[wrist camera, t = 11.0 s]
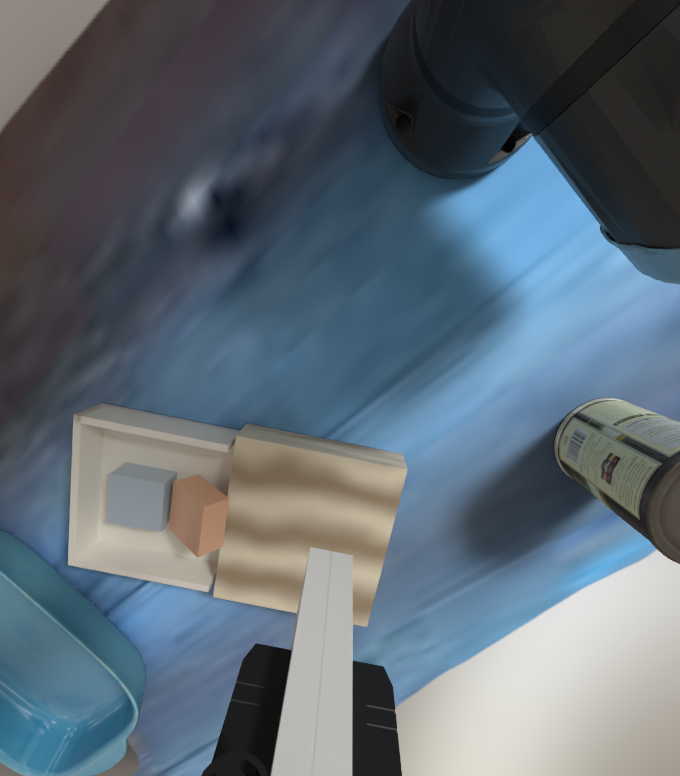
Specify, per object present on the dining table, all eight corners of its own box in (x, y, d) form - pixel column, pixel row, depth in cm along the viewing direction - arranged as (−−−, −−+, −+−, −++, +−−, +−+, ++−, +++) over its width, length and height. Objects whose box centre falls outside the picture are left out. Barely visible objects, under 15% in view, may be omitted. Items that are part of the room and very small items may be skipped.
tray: (101, 402, 43) (73, 414, 39) (241, 430, 44) (228, 445, 39) (94, 540, 48) (67, 565, 43) (221, 565, 48) (208, 592, 43)
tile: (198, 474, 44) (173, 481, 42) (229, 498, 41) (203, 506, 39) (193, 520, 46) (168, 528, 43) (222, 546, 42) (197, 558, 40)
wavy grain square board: (246, 423, 43) (236, 435, 39) (402, 454, 44) (407, 469, 40) (224, 572, 48) (213, 597, 44) (365, 600, 48) (366, 626, 44)
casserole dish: (-121, 575, 50) (-198, 619, 43) (-18, 475, 46) (-84, 506, 39) (89, 746, 56) (52, 810, 49) (197, 669, 52) (173, 726, 45)
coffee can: (654, 472, 43) (794, 553, 29) (560, 493, 44) (654, 581, 30) (644, 385, 41) (791, 430, 27) (546, 409, 42) (641, 464, 28)
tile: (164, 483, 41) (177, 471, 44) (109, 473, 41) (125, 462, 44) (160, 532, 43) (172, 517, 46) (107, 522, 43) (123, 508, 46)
